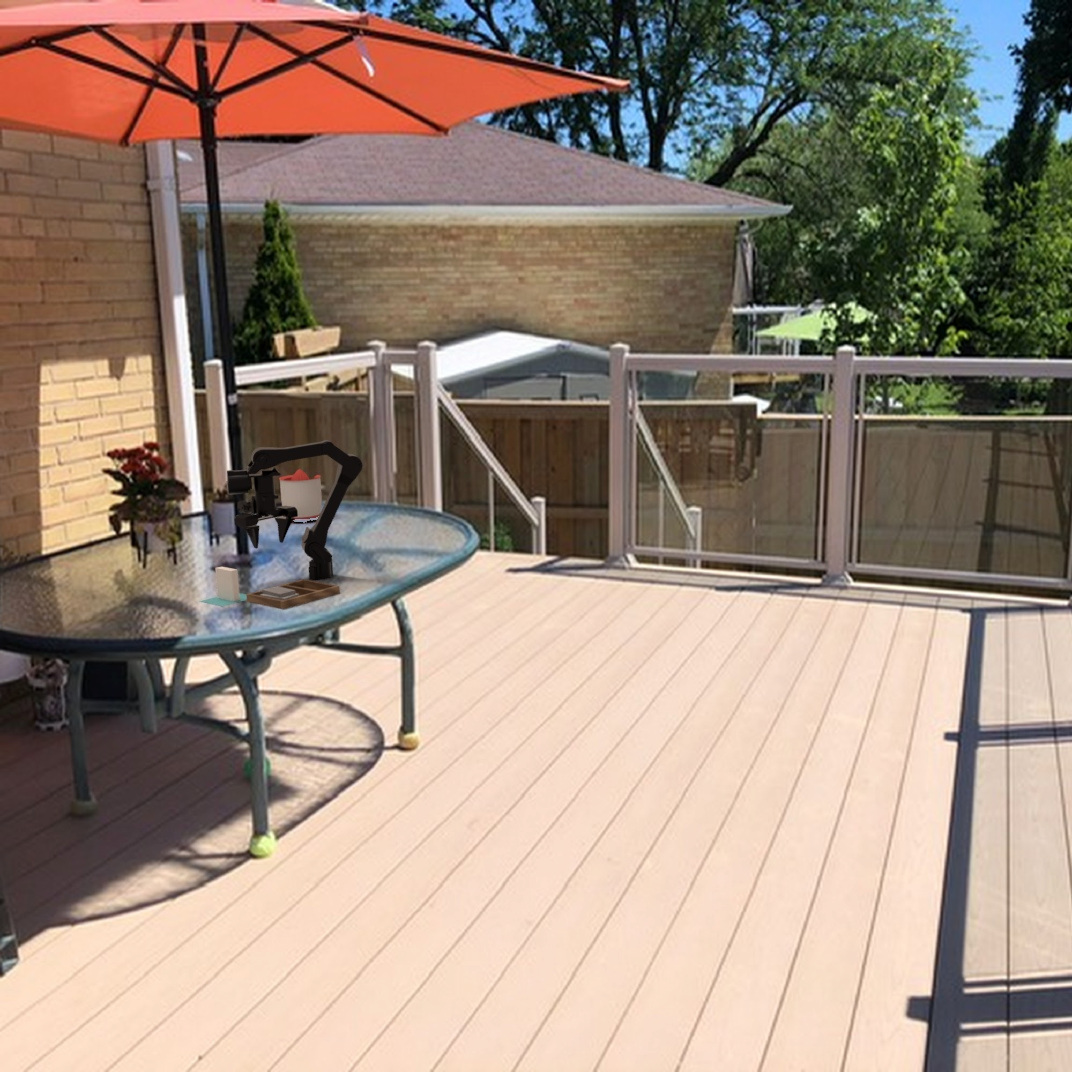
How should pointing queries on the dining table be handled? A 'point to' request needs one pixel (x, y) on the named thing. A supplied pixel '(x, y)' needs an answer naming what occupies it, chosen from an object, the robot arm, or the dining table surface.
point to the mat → (224, 602)
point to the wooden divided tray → (302, 587)
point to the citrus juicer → (302, 494)
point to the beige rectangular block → (227, 583)
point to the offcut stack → (279, 593)
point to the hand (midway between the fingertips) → (268, 545)
